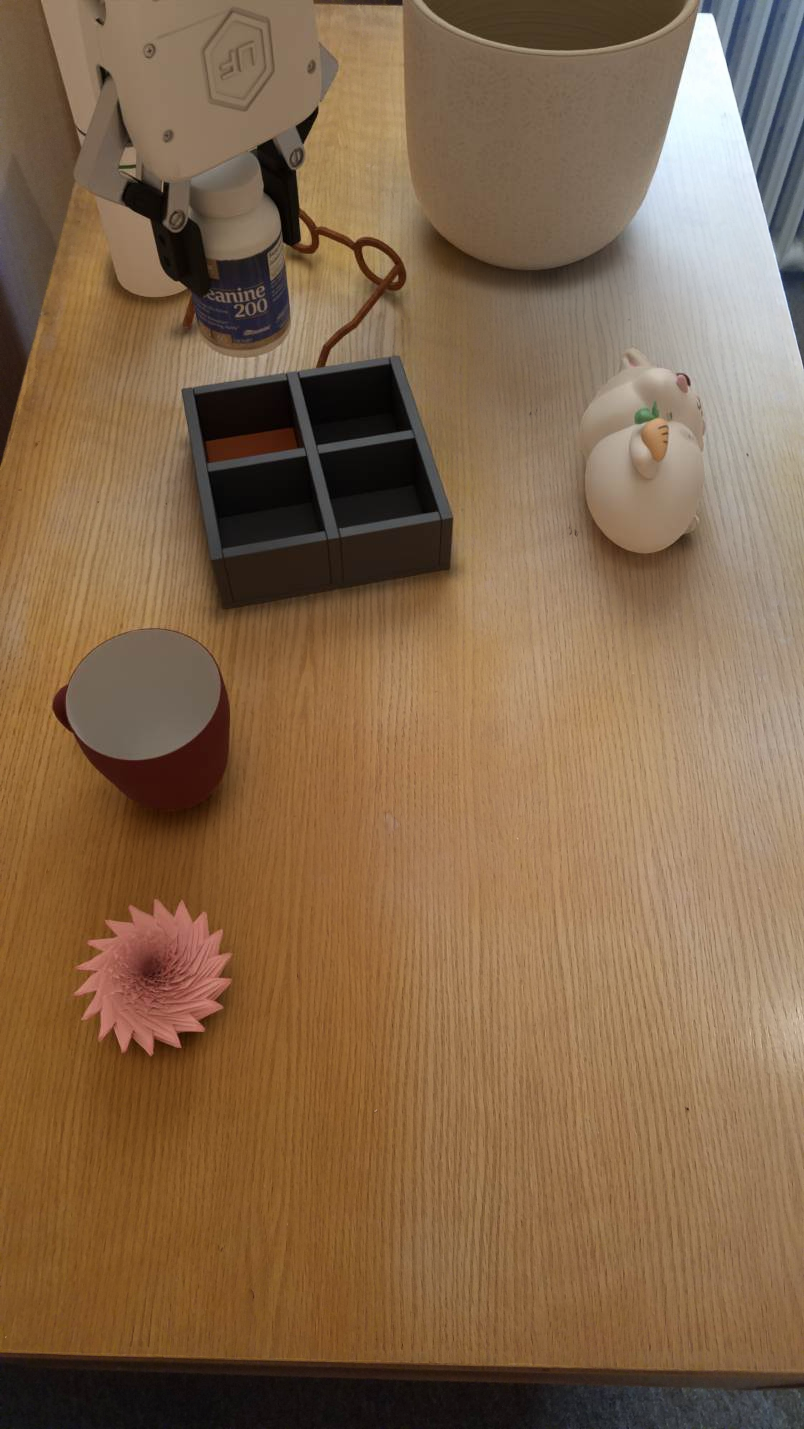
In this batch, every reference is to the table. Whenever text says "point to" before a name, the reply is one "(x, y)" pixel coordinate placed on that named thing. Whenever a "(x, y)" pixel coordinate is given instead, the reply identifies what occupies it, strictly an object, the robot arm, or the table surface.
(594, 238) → the planter
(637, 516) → the white animal figurine
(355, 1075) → the table surface
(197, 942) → the flower
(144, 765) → the mug
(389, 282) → the glasses
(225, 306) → the pill bottle
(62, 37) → the cylindrical container
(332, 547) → the divided storage tray
